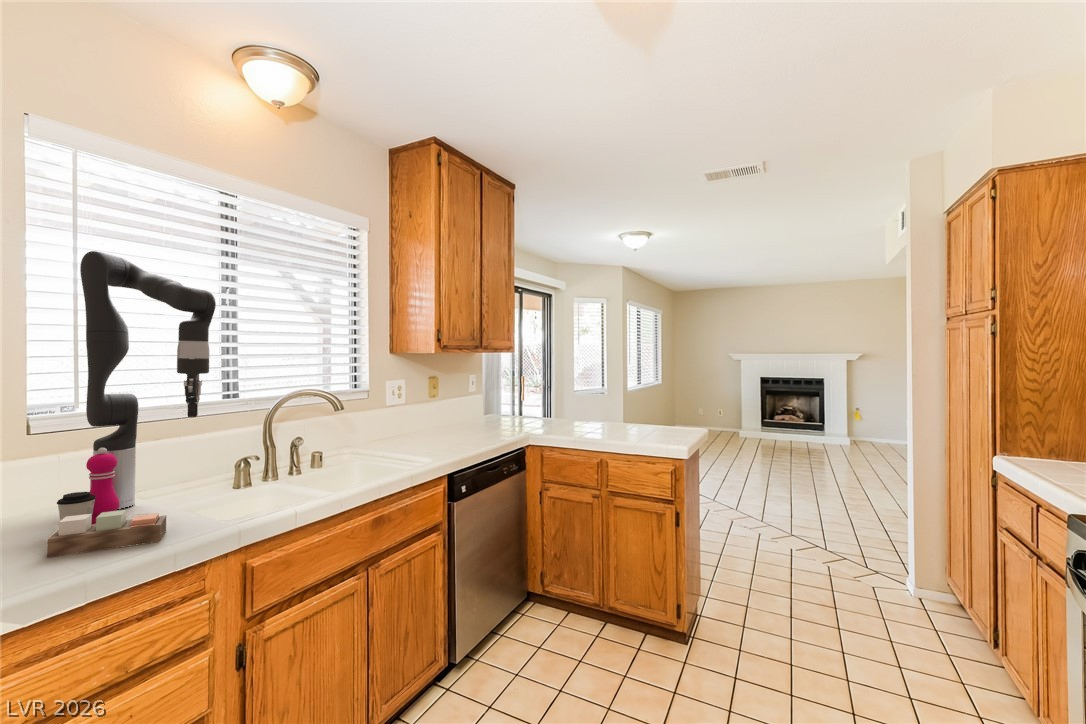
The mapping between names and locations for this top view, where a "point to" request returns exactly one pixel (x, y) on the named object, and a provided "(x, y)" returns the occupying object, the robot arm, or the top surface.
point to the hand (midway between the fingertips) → (192, 416)
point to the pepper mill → (102, 483)
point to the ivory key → (75, 524)
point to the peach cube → (145, 519)
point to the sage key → (111, 520)
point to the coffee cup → (76, 504)
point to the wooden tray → (105, 538)
